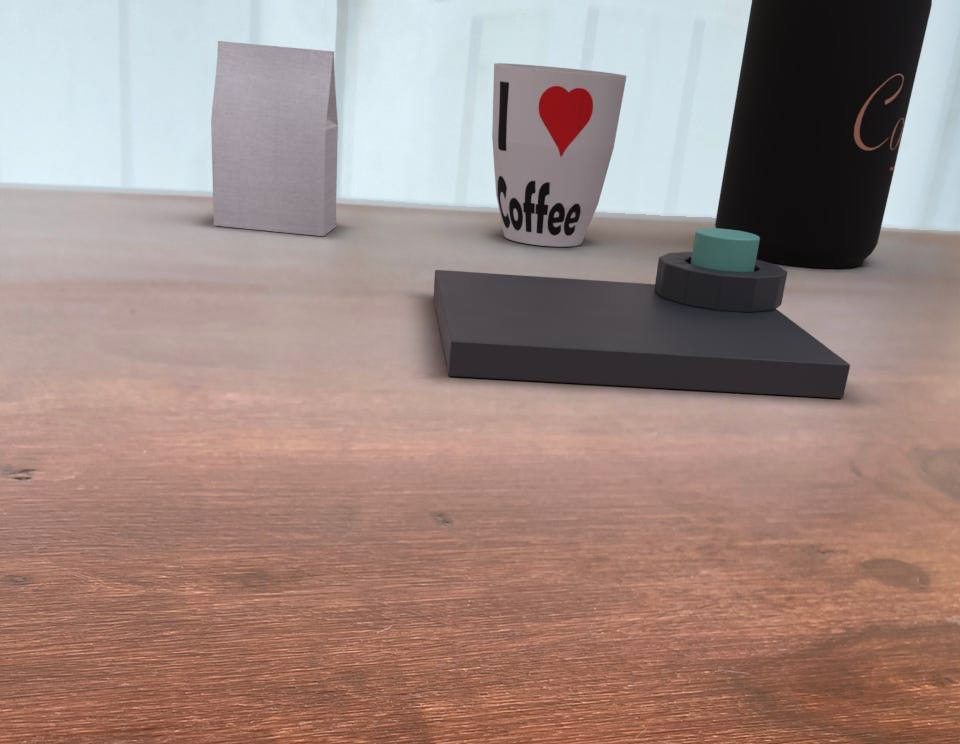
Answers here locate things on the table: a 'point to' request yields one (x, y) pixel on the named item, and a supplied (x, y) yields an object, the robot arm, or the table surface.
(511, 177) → the cup
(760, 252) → the coffee jar
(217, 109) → the grey paper bag
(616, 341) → the scale
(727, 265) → the button
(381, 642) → the table surface
